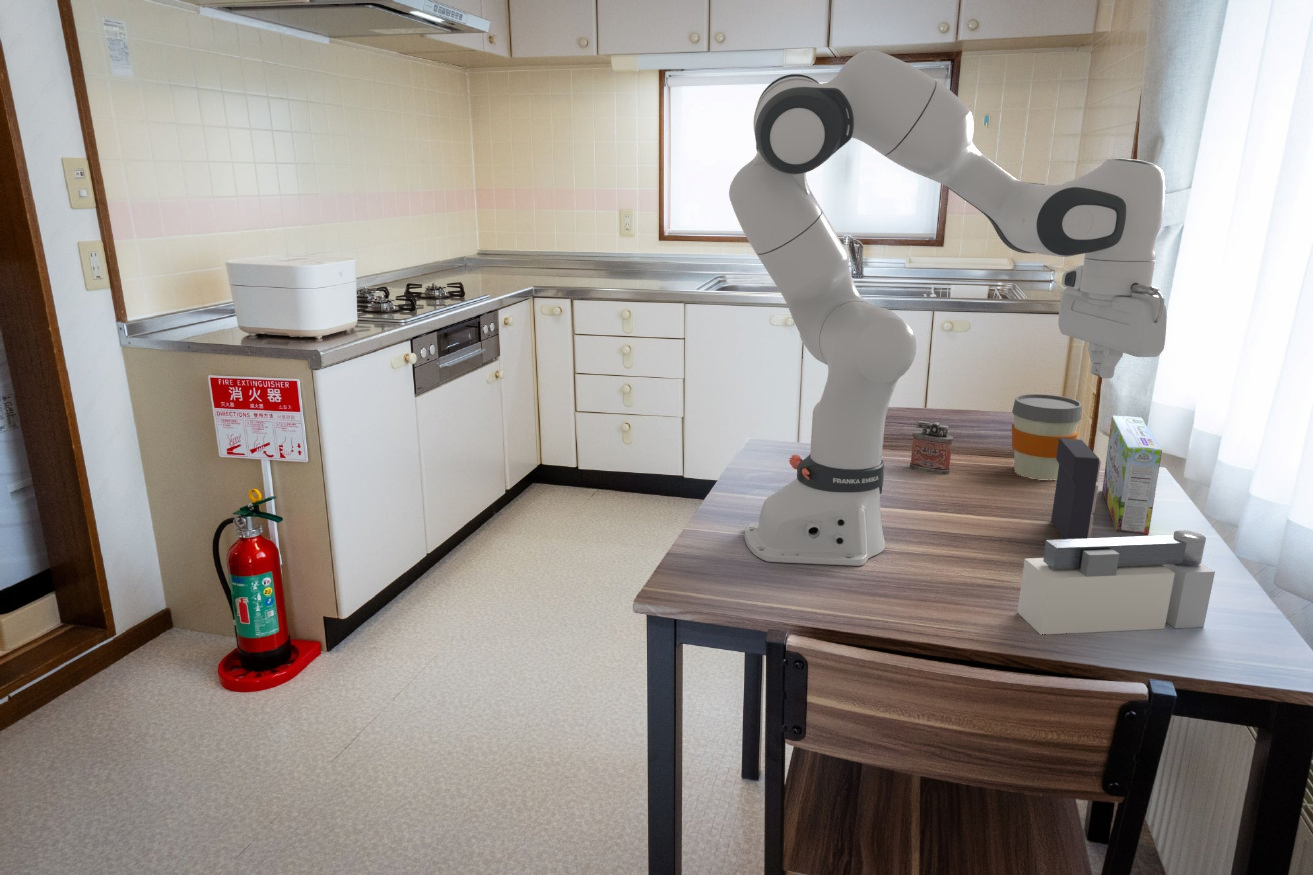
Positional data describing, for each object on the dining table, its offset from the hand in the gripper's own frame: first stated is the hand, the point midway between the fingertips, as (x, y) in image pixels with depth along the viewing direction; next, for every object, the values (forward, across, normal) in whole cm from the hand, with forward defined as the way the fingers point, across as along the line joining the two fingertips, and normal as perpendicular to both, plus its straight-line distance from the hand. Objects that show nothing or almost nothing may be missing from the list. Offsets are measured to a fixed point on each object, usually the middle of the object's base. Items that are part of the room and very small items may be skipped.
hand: (1101, 376), depth 125 cm
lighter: (+29, +44, +5) cm, 53 cm away
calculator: (+29, +10, -5) cm, 31 cm away
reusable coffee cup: (+29, +40, -16) cm, 52 cm away
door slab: (+29, -18, +9) cm, 35 cm away
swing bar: (+21, -19, +5) cm, 28 cm away
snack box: (+29, +19, -20) cm, 40 cm away
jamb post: (+29, -18, -3) cm, 35 cm away
